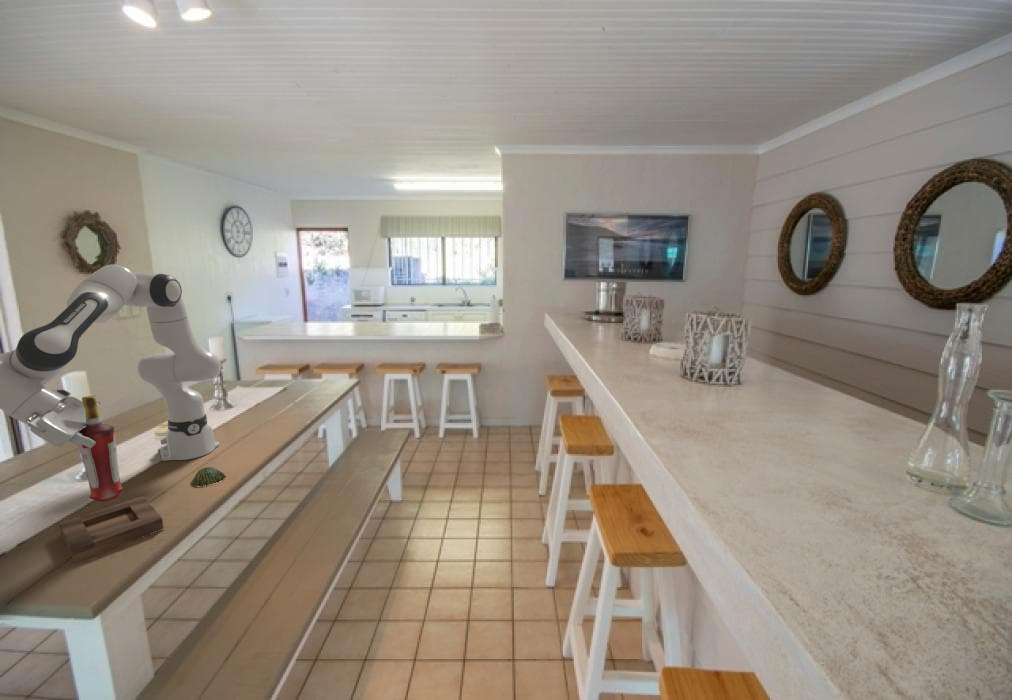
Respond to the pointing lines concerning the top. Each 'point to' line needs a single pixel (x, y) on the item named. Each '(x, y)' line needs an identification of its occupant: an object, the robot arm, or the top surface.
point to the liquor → (100, 455)
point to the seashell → (207, 476)
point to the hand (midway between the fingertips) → (99, 438)
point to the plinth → (109, 528)
